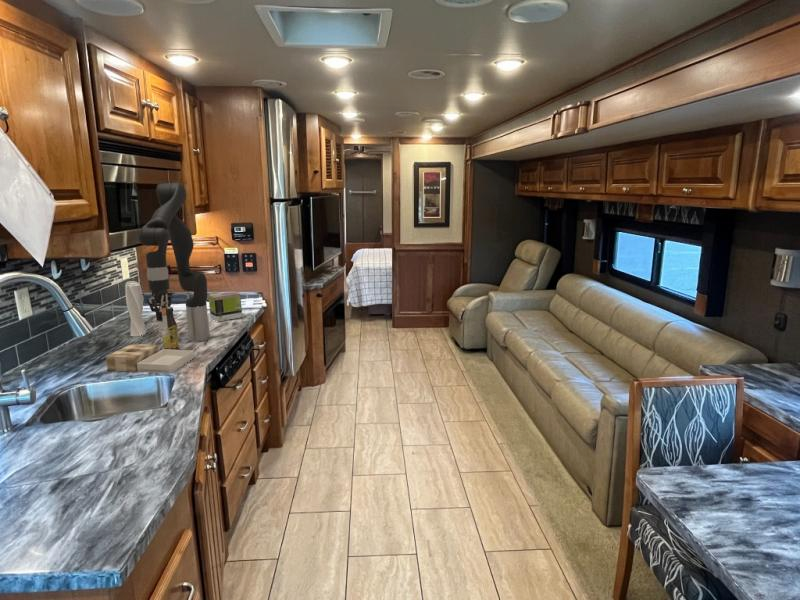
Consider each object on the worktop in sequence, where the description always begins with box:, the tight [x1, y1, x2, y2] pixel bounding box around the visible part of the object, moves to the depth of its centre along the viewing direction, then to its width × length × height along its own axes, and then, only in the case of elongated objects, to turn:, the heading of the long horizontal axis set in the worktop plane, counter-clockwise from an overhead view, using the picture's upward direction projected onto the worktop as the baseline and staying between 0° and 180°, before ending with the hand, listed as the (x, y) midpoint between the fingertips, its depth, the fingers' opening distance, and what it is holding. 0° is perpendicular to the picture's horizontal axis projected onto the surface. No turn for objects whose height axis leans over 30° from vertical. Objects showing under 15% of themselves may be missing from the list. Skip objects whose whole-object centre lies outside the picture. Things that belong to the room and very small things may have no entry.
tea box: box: [207, 290, 243, 322], centre depth 269 cm, size 15×10×15 cm, turn 130°
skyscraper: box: [124, 280, 148, 337], centre depth 236 cm, size 8×8×28 cm
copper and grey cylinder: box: [157, 306, 169, 338], centre depth 194 cm, size 3×3×12 cm
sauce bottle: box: [162, 306, 180, 350], centre depth 214 cm, size 6×6×20 cm
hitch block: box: [105, 343, 160, 373], centre depth 198 cm, size 16×12×6 cm
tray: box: [137, 348, 195, 374], centre depth 198 cm, size 18×14×4 cm
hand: (162, 319), depth 194 cm, fingers closed on copper and grey cylinder, 3 cm apart
